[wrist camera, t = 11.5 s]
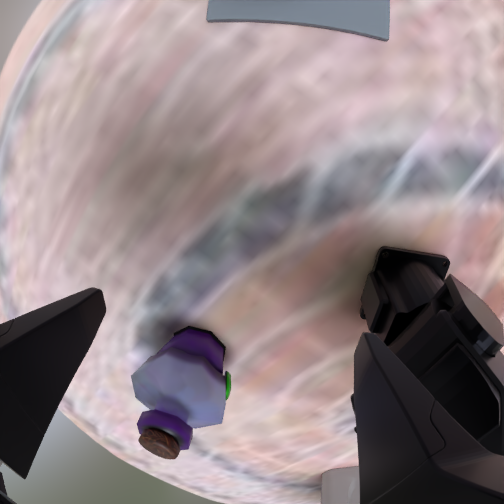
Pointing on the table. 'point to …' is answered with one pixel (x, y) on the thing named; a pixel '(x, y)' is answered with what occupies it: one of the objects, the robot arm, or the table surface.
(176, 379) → the potion bottle
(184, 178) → the table surface
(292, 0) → the mat
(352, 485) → the gray triangular prism
